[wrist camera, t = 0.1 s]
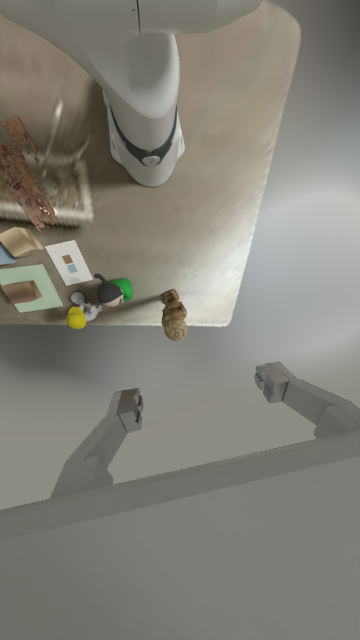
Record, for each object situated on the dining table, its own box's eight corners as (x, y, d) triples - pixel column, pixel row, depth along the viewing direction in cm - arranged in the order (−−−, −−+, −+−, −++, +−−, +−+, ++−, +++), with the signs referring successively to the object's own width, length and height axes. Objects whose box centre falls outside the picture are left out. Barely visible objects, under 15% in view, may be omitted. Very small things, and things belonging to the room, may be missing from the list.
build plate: (-5, 270, 46) (-9, 270, 45) (42, 264, 47) (40, 264, 46) (21, 311, 52) (19, 312, 52) (63, 305, 53) (61, 306, 52)
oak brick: (12, 237, 43) (-4, 235, 39) (29, 229, 43) (14, 227, 38) (28, 256, 46) (14, 257, 41) (44, 248, 45) (31, 249, 41)
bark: (-27, 137, 34) (-30, 135, 34) (17, 115, 34) (15, 113, 33) (45, 238, 45) (44, 238, 44) (80, 222, 44) (79, 222, 44)
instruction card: (45, 246, 45) (44, 246, 45) (74, 240, 45) (74, 240, 45) (66, 285, 51) (66, 285, 50) (92, 279, 51) (92, 279, 51)
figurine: (95, 285, 52) (73, 298, 38) (108, 308, 56) (93, 327, 43) (68, 294, 52) (36, 311, 39) (83, 317, 56) (60, 339, 43)
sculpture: (165, 306, 58) (171, 356, 32) (157, 291, 56) (157, 333, 29) (181, 298, 58) (200, 343, 31) (174, 284, 55) (189, 319, 28)
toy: (114, 302, 55) (100, 319, 42) (97, 272, 50) (74, 281, 37) (138, 293, 55) (132, 308, 41) (124, 262, 50) (111, 268, 36)
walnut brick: (15, 282, 47) (0, 286, 43) (33, 280, 48) (20, 283, 43) (25, 299, 50) (12, 304, 45) (42, 296, 50) (31, 301, 46)
